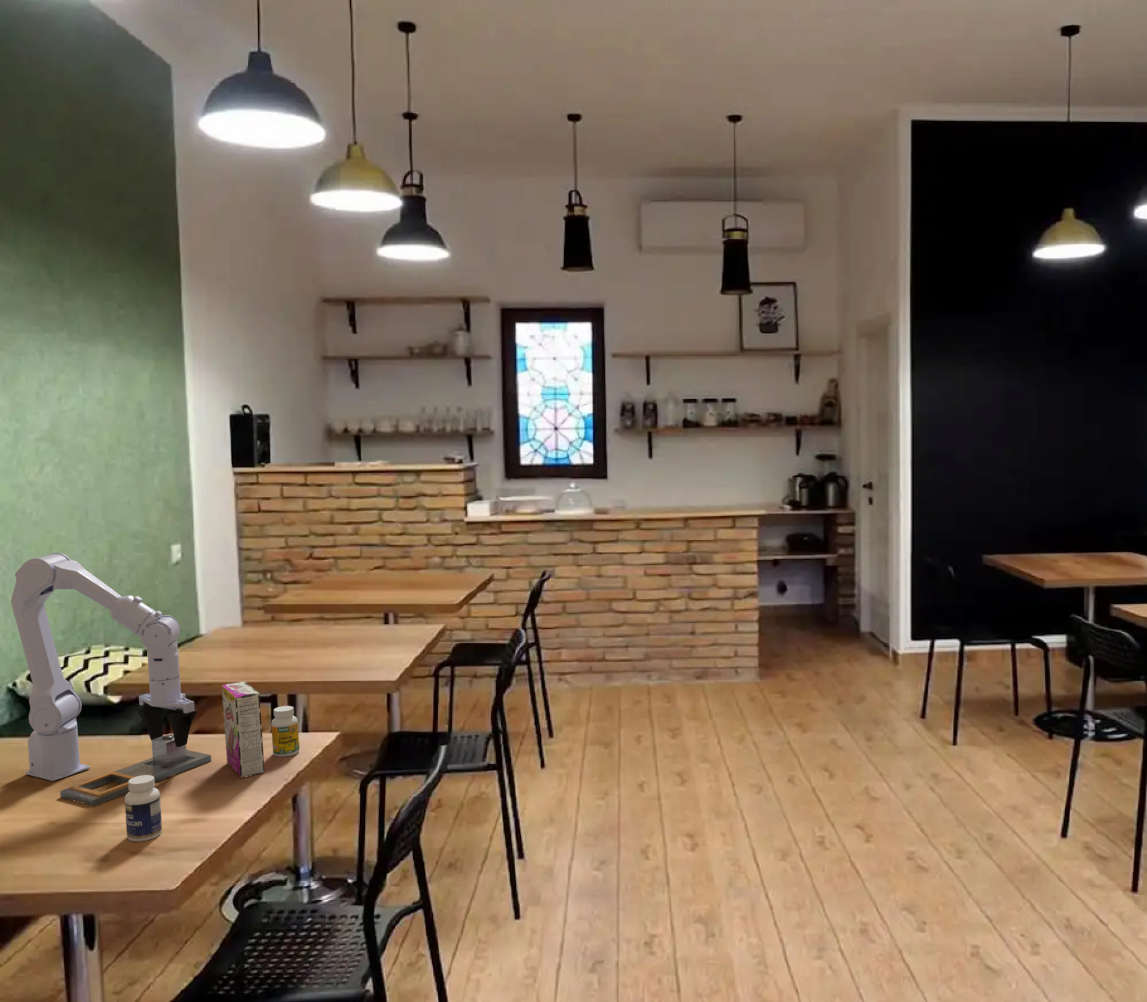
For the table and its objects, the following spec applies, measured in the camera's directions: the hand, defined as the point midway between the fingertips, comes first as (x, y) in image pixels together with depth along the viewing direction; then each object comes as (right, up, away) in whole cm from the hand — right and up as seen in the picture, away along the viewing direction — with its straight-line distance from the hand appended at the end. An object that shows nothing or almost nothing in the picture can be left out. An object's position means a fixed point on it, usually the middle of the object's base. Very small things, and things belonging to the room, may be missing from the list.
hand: (169, 742), depth 190 cm
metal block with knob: (0, -5, 0) cm, 5 cm away
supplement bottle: (+22, -4, +6) cm, 23 cm away
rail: (-3, -5, -6) cm, 9 cm away
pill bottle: (+10, -7, -33) cm, 35 cm away
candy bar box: (+16, -5, -2) cm, 17 cm away
